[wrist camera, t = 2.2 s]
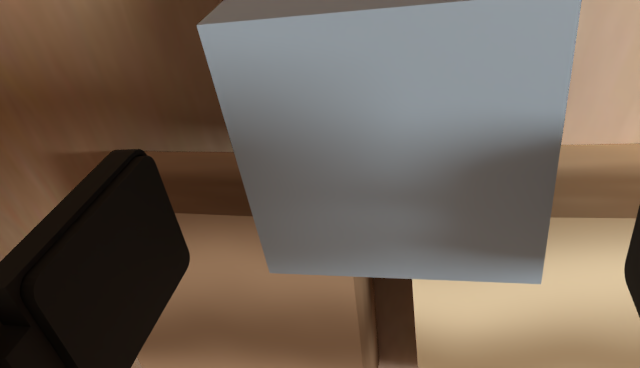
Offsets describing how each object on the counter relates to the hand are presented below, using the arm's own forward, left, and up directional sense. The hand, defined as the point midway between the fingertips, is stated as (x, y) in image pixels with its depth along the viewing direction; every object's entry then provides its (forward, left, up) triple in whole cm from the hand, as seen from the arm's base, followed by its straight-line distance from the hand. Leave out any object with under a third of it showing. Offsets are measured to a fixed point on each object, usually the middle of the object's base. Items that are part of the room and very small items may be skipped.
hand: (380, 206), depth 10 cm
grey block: (-1, 0, -7) cm, 7 cm away
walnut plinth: (+9, -7, -8) cm, 14 cm away
